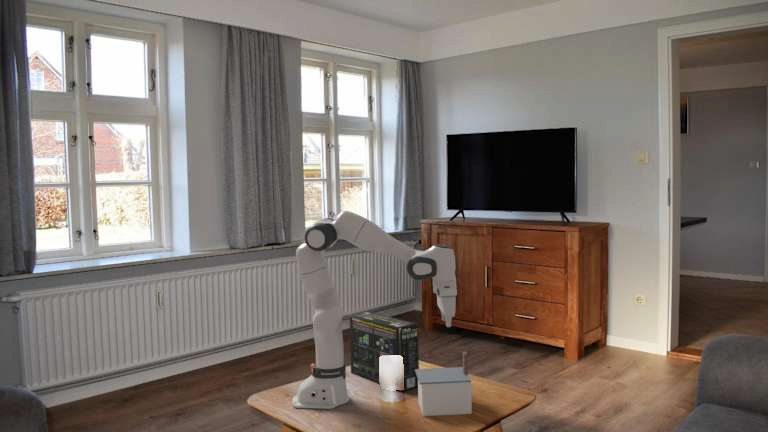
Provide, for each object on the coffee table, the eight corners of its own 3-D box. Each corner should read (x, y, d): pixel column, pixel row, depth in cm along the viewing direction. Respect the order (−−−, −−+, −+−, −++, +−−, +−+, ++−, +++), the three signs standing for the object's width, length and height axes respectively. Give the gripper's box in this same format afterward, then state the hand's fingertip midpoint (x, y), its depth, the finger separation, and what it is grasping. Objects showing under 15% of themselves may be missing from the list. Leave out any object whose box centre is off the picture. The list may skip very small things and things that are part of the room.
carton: (423, 416, 227) (422, 384, 226) (418, 401, 242) (417, 371, 241) (471, 413, 228) (471, 381, 227) (464, 398, 243) (463, 368, 242)
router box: (421, 386, 259) (419, 323, 257) (401, 393, 252) (399, 328, 250) (368, 367, 286) (366, 310, 285) (349, 372, 279) (347, 314, 278)
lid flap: (419, 384, 226) (419, 361, 226) (415, 370, 242) (414, 349, 241) (471, 381, 227) (470, 358, 227) (463, 368, 243) (463, 346, 242)
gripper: (432, 283, 243) (434, 317, 244) (440, 292, 223) (442, 330, 224) (448, 282, 244) (450, 316, 245) (457, 291, 223) (459, 329, 224)
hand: (446, 323), depth 234 cm, fingers open, 8 cm apart
